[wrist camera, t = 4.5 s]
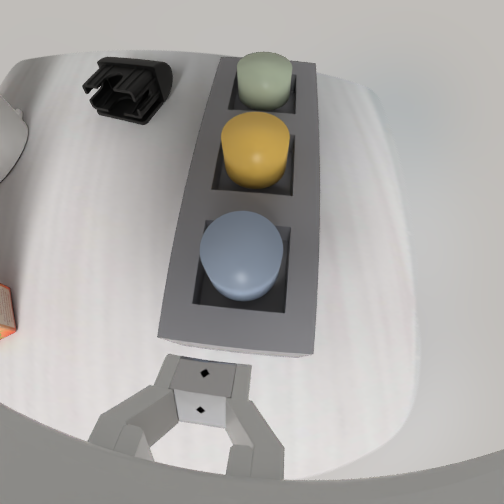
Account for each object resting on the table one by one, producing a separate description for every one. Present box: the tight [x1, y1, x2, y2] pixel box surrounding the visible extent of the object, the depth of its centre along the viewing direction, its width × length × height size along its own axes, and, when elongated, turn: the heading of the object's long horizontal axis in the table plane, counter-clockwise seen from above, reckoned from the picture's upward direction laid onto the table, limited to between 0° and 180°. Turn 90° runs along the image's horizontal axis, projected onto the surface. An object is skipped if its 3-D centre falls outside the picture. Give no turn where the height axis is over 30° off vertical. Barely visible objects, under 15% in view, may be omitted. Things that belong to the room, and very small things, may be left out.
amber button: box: [221, 112, 290, 189], centre depth 23 cm, size 5×5×4 cm
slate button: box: [200, 211, 283, 302], centre depth 20 cm, size 5×5×4 cm
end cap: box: [82, 57, 173, 125], centre depth 35 cm, size 10×7×7 cm
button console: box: [157, 57, 320, 358], centre depth 28 cm, size 10×28×8 cm, turn 174°
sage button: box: [237, 52, 292, 111], centre depth 26 cm, size 5×5×4 cm
